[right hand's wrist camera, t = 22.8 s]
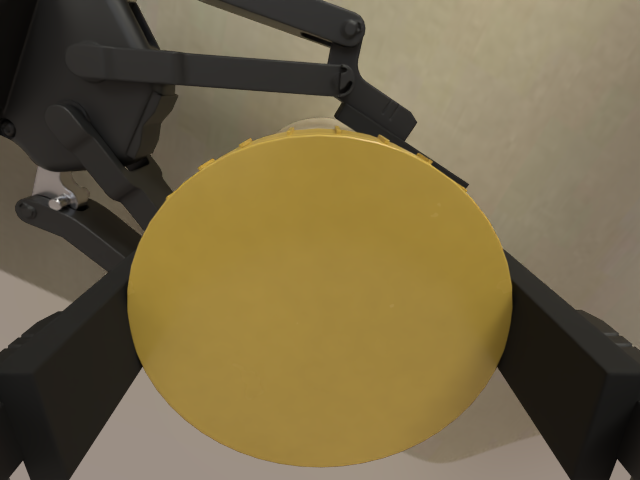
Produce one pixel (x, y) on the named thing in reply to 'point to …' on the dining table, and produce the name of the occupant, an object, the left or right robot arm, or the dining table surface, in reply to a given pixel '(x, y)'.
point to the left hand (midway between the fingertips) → (393, 264)
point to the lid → (319, 299)
